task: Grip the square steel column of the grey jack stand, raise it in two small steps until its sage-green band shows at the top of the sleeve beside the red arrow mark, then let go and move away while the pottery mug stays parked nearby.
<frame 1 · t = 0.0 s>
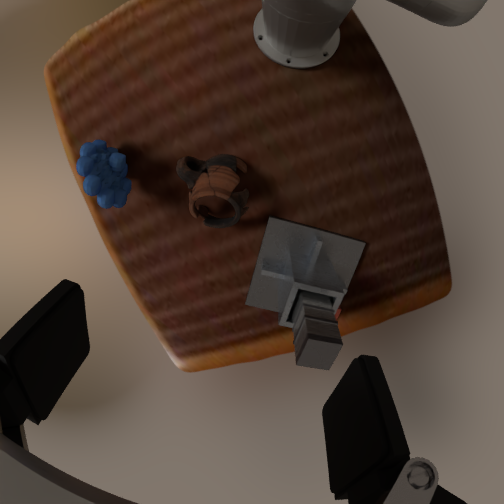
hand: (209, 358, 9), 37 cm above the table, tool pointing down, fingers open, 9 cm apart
blue lumpy cluster: (128, 163, 43), on the table
column: (310, 308, 39), point 11 cm above the table, slide at 0.0 cm
stand base: (303, 272, 48), on the table
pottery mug: (217, 181, 44), on the table
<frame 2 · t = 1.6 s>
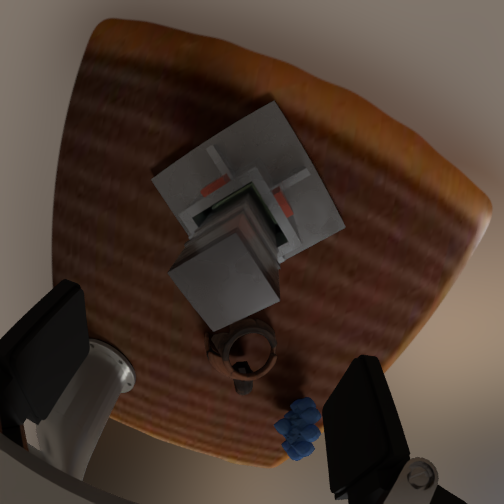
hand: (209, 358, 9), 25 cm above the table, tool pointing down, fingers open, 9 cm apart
blue lumpy cluster: (292, 399, 45), on the table
column: (240, 227, 23), point 11 cm above the table, slide at 0.0 cm
stand base: (248, 199, 33), on the table
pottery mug: (241, 340, 40), on the table
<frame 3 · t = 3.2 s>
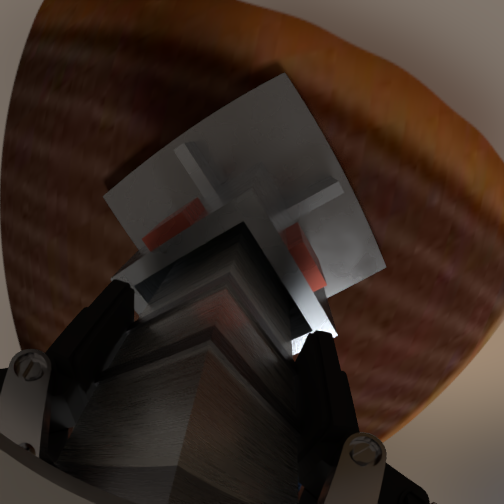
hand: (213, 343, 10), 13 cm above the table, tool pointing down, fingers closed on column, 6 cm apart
column: (223, 304, 12), point 11 cm above the table, slide at 0.0 cm, touching gripper
stand base: (245, 225, 22), on the table
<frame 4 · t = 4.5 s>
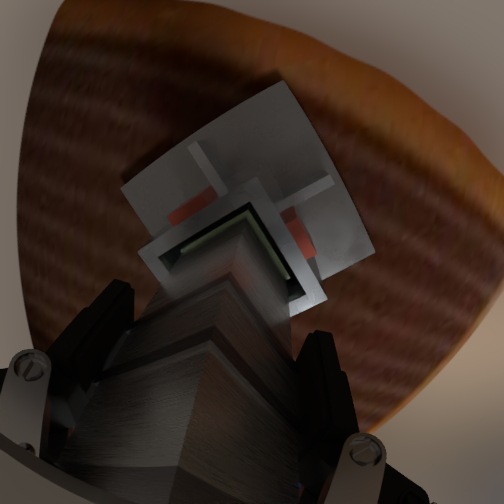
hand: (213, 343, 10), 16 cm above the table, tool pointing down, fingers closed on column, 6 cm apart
column: (223, 304, 12), point 14 cm above the table, slide at 2.9 cm, touching gripper
stand base: (248, 214, 24), on the table
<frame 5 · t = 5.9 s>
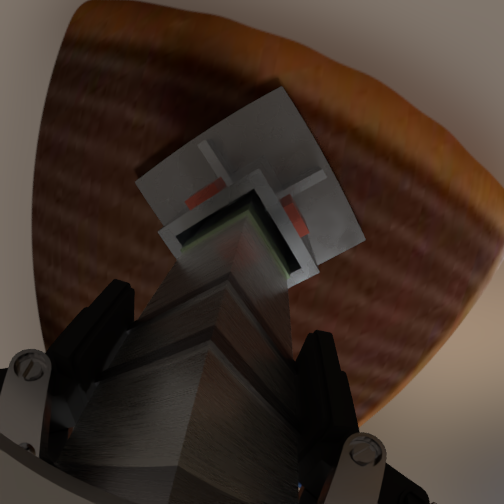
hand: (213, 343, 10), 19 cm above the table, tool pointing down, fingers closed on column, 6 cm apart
column: (224, 304, 12), point 17 cm above the table, slide at 5.9 cm, touching gripper
stand base: (251, 205, 27), on the table
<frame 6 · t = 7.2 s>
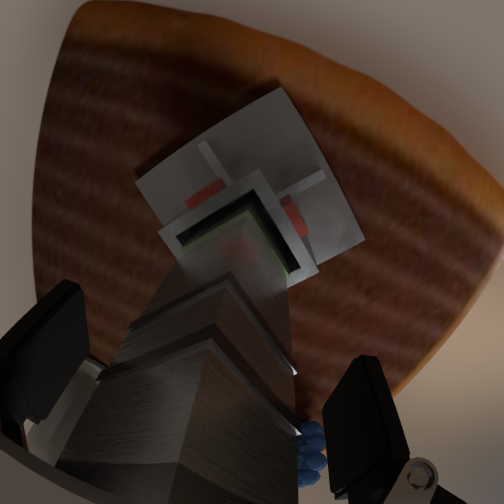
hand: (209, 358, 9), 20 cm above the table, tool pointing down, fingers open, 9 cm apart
blue lumpy cluster: (297, 421, 40), on the table
column: (223, 304, 12), point 17 cm above the table, slide at 5.9 cm
stand base: (250, 205, 27), on the table
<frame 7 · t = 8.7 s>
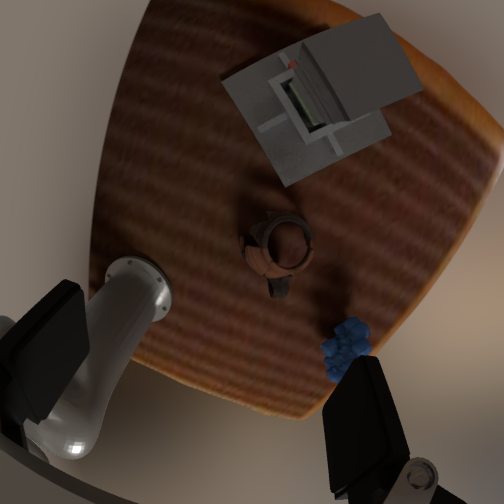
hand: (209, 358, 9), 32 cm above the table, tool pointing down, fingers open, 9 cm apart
blue lumpy cluster: (335, 324, 46), on the table
column: (331, 88, 18), point 17 cm above the table, slide at 5.9 cm
stand base: (309, 104, 33), on the table
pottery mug: (275, 245, 42), on the table
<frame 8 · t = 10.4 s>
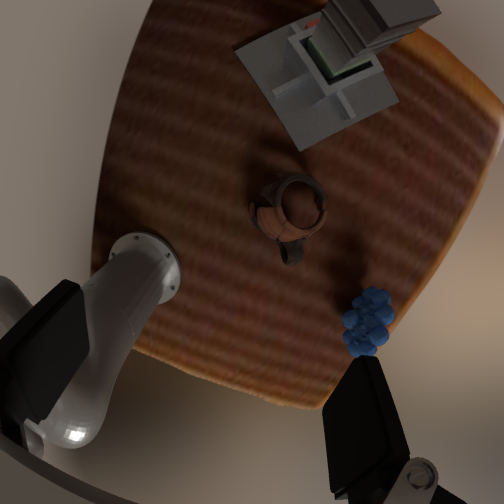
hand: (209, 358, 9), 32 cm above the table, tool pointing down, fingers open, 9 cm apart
blue lumpy cluster: (352, 298, 45), on the table
column: (351, 35, 17), point 17 cm above the table, slide at 5.9 cm
stand base: (319, 73, 32), on the table
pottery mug: (286, 212, 40), on the table
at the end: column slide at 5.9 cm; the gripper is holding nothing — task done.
